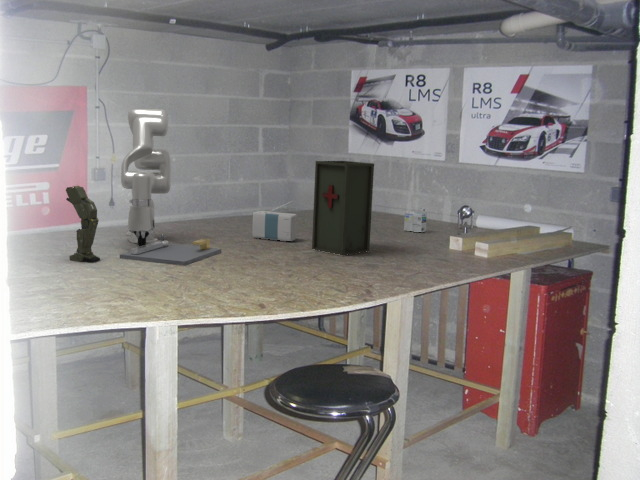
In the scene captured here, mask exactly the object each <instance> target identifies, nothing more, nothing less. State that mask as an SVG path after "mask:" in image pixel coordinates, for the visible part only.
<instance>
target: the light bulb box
mask: <svg viewBox="0 0 640 480" xmlns="http://www.w3.org/2000/svg"><path fill="white" fill-rule="evenodd" d="M403 223H404V224H403V231H404V230H407V231H414V232H424V231H426V232H427V213H426V212H425V213H424V212H418V211H417V212H416V211H415V212H413V211H407V212H404V222H403Z"/></svg>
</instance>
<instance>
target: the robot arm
mask: <svg viewBox="0 0 640 480" xmlns="http://www.w3.org/2000/svg"><path fill="white" fill-rule="evenodd" d="M127 120H128V126H129V129H130V132H131V135H132V148H131V150H130V151H129V152H128V153H127V154H126V155H125V156H124V158H123V160H122V162H121V173H120V174H121V175H120V183H121V186H122V188H124V189H125V190H131V196H132V197H131V199H129V204H131V205H130V208H129V211H128V221H127V222H128V223H127V228H128V231H126V233H125V236H126V237H129V239H128V241H129V242H130V243H131V244H137V247H139V246H142V245H146V244H150V243H153V242H157V241H158V240H159V239H158V238H156V237H155V226H156V224H155V223H156V221H155V201H154V199H152V194H153V195H155V194H160V195H161V194H162V195H163V194H168V193H169V192H170V191H171V187H172V186H171V179H172V178H171V175H172V174H171V169H172V167H171V166H172V165H171V154H170V152H169V151H167V149H162V148H154V137H165V136H166V135H167V134H168V132H169V114H168V112H167V111H166V110H165V109H160V108H141V107H140V108H132V109H130V110H129V111H128V113H127ZM132 163H133V164H134V167H135V168H136V169H138V170H139V171H138V170H129V167H130V166H131V164H132ZM140 170H141V171H140ZM142 170H144V171H142ZM151 171H154V172H151ZM155 171H159V172H155Z"/></svg>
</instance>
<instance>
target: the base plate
mask: <svg viewBox="0 0 640 480" xmlns="http://www.w3.org/2000/svg"><path fill="white" fill-rule="evenodd" d="M221 253H222V248H219V247H217V248H215V247H210V249H207V250H205V249H200V245H199V246H198V245H188V244H179V243H169V242H168V246H166V247H161V248H157V249H154V250H150V251H147V252H143V253H140V254H131V250H129V251H127V252H123V253H120V254H119V259H123V260H132V261H142V262H150V263H157V264H158V263H160V264H166V265H167V264H168V265H176V266H188V265H189V264H193V263H195V262H198V261H201V260H203V259H206V258H210V257H212V256H215V255H217V254H221Z"/></svg>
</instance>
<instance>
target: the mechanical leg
mask: <svg viewBox="0 0 640 480" xmlns="http://www.w3.org/2000/svg"><path fill="white" fill-rule="evenodd" d="M65 192H66V194H67V196H68V197H66V198H65V199H66V201H68V203H70V204H72V205H73V208H74V210H75V212H76V214H77V215H78V218H79V219H81V220H80V227H81V229H80V228H78V229H77V230H76V231H75V232H76V242H77V248H76V252H74V253H73V254H71V255H69V260H70V261H75V262H83V263H89V264H90V263H92V264H93V263H96V262H101V258H100V257H99V256H97V255H95V254H94V252H93V250H92V246H93V245H94V242H95V241H94V240H95V236H96V232H97V228H98V225H99V220H100V219H99V218H98V208H97V206H96V204H95V202H94V201H93V200H92V199H90V198H89V197H88V195H87V193H86V190H85V189H84V187H83V186H80V185H73V186H69V187H65Z"/></svg>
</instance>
